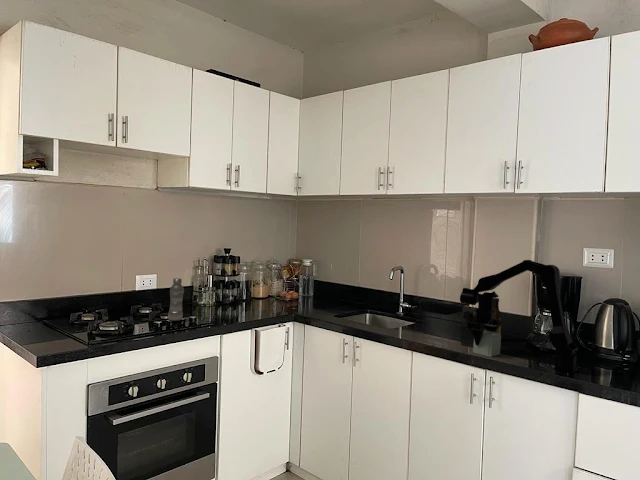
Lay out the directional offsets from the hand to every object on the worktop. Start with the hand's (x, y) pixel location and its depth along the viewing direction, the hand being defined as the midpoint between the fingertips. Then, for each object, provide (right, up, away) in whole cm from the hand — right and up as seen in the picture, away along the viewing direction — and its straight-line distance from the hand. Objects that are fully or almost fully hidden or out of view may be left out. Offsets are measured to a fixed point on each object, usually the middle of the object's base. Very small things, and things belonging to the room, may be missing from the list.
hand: (482, 343), depth 207 cm
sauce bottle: (+14, -4, +26) cm, 30 cm away
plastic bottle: (-137, +5, +27) cm, 140 cm away
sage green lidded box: (+1, -4, -1) cm, 4 cm away
